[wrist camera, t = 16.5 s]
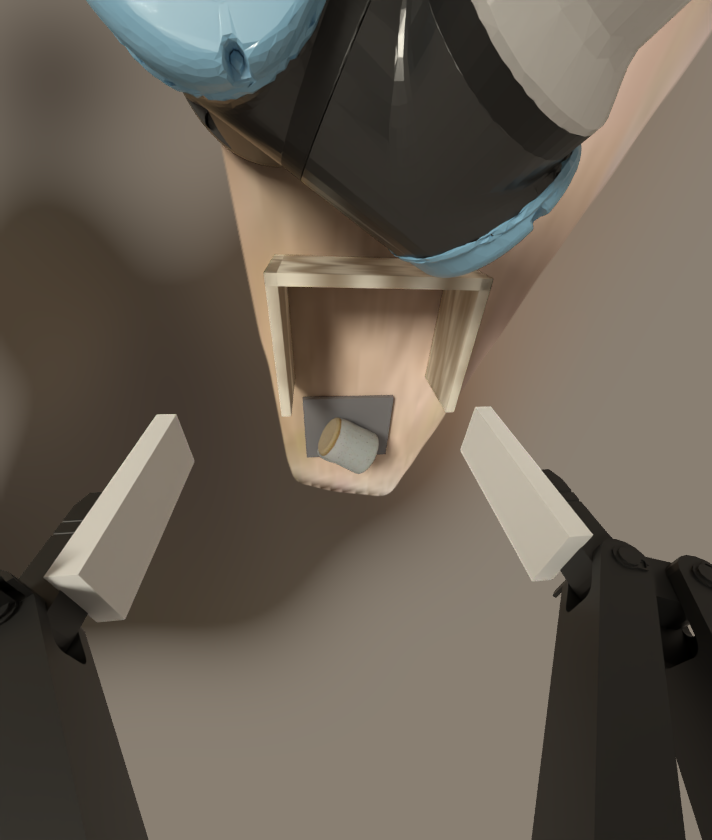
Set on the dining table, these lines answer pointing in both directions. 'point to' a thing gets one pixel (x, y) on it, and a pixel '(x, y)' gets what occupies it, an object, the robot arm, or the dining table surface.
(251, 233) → the dining table surface
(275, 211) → the dining table surface
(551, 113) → the robot arm
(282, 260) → the open box
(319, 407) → the rubber mat
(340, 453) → the ceramic mug
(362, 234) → the dining table surface
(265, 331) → the dining table surface
